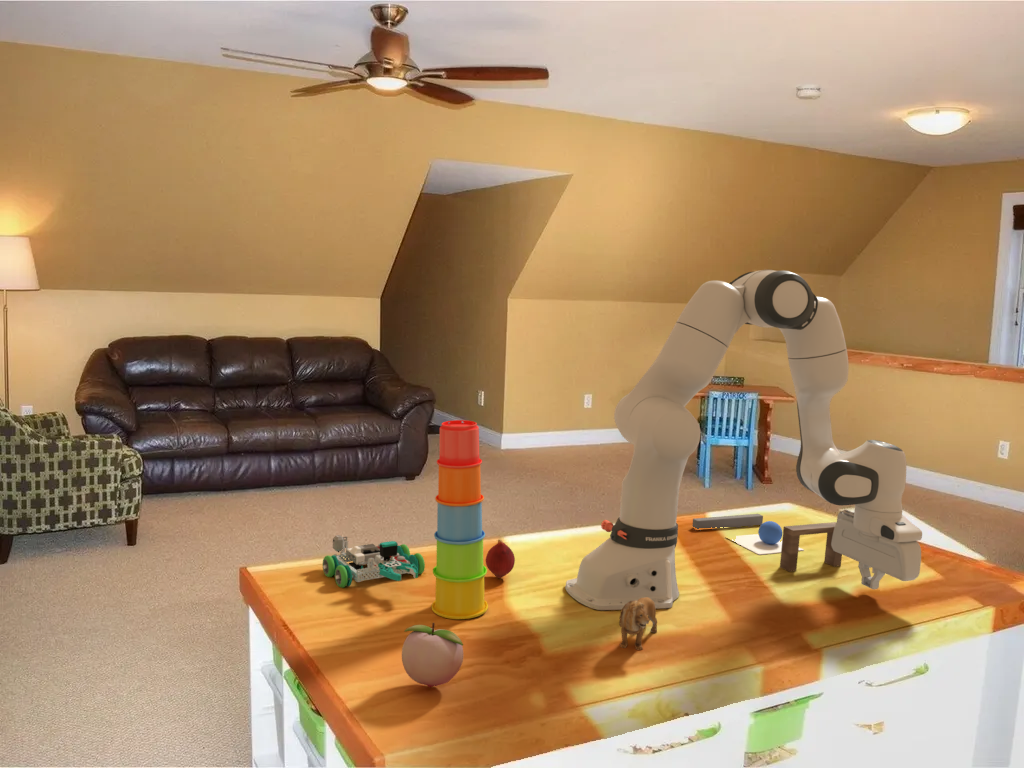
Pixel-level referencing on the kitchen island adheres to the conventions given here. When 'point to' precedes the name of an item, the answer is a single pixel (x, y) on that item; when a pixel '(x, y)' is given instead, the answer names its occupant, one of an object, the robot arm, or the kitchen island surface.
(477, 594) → the stacking cups
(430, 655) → the decorative fruit
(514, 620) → the kitchen island surface
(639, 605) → the lion figurine
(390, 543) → the robot kit
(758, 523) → the wall
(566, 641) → the kitchen island surface
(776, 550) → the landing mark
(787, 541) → the bridge
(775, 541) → the ball
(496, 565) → the onion
